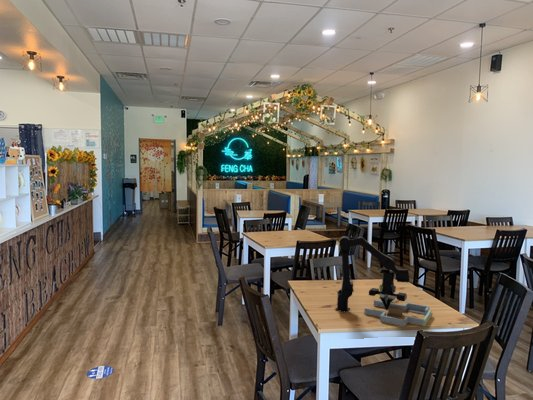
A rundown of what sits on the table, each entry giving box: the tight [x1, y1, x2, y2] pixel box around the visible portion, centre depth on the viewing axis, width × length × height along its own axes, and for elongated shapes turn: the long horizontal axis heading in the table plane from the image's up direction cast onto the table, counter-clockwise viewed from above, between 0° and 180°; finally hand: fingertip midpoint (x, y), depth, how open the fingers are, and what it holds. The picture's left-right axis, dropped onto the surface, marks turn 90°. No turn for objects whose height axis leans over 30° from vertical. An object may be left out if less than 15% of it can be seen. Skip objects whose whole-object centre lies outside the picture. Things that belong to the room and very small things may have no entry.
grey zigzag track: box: [363, 299, 432, 327], centre depth 206 cm, size 29×30×3 cm
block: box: [387, 305, 404, 319], centre depth 206 cm, size 6×6×4 cm
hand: (387, 310), depth 209 cm, fingers closed
